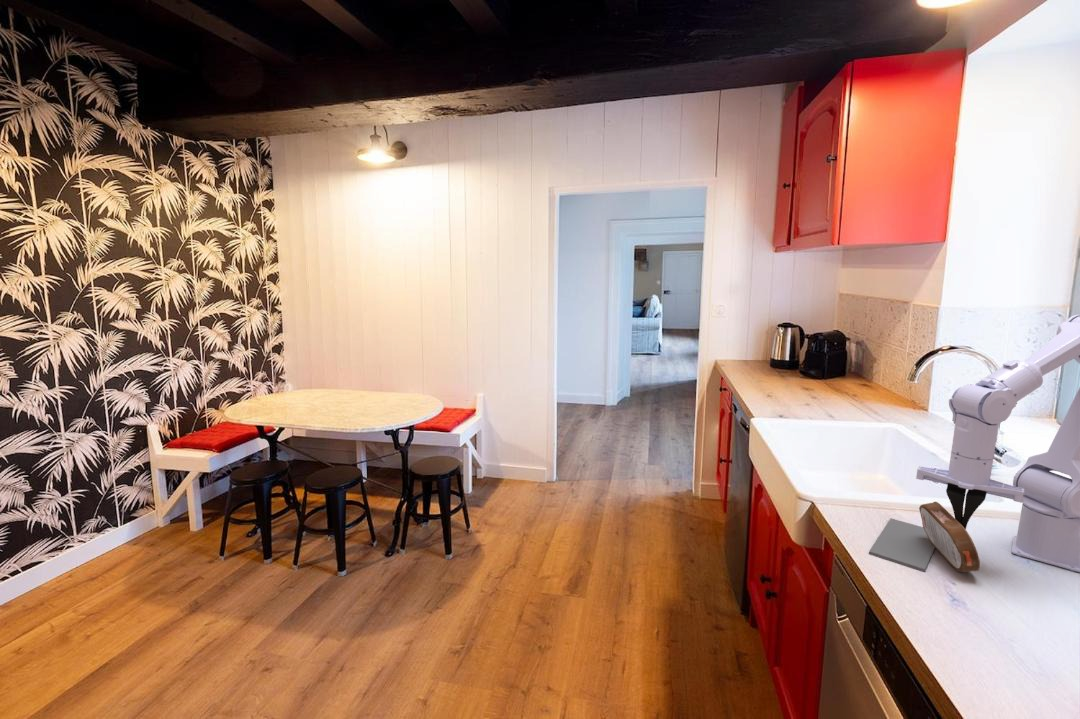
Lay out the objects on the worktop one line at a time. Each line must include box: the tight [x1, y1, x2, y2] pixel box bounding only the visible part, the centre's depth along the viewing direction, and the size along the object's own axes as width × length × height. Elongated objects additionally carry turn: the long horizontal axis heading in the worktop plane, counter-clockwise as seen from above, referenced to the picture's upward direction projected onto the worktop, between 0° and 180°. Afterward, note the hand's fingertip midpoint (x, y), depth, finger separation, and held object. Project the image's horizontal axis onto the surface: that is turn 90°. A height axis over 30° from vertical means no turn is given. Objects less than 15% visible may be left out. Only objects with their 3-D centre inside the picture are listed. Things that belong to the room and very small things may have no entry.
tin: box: [919, 501, 981, 573], centre depth 95 cm, size 15×3×8 cm, turn 168°
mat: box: [868, 517, 936, 573], centre depth 102 cm, size 8×18×1 cm, turn 136°
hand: (960, 527), depth 94 cm, fingers closed
